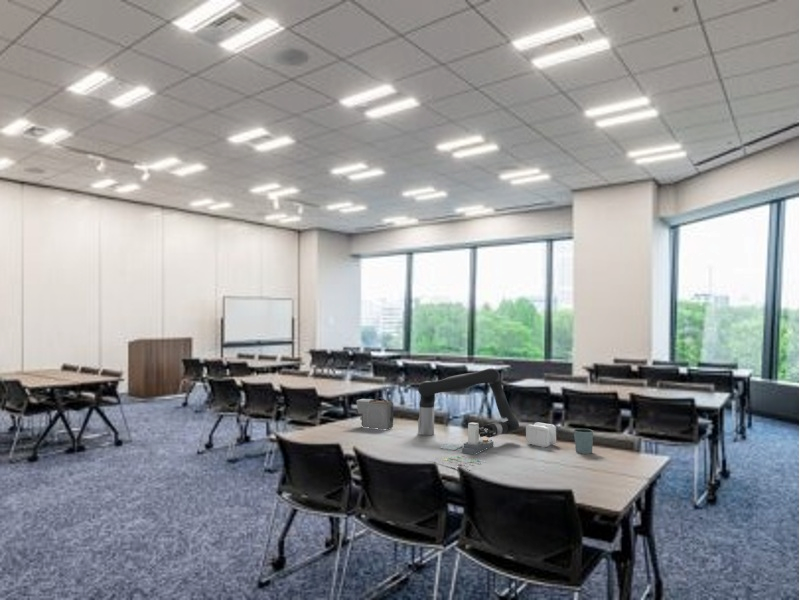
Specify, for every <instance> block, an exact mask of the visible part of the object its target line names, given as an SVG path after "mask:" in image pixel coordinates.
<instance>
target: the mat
mask: <svg viewBox="0 0 800 600" xmlns="http://www.w3.org/2000/svg"><path fill="white" fill-rule="evenodd" d="M441 448H442V449H441ZM462 448H463V447H462V445H455V444H449V443H447V444H445V445H443V446H440V448H439V449H441V450H447V449H448V450H449V451H454V450H455V451H457V450H459V449H462ZM456 449H457V450H456Z"/></svg>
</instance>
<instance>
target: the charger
mask: <svg viewBox="0 0 800 600" xmlns="http://www.w3.org/2000/svg"><path fill="white" fill-rule="evenodd" d="M479 428H480V426H479V422H468V425H467V442H468V444H473V445H477V444H479V440H480V435H479Z"/></svg>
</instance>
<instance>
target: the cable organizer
mask: <svg viewBox="0 0 800 600" xmlns="http://www.w3.org/2000/svg"><path fill="white" fill-rule="evenodd" d="M525 442H526V443H527V444H529V445H530V444H532V445H531V446H539V447H540V448H547V447H550V446H553V445H556V443H557V427H556V425H554V424H550V423H544V422H537V421H536V422H534V424H527V425H526V426H525Z"/></svg>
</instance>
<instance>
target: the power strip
mask: <svg viewBox="0 0 800 600" xmlns="http://www.w3.org/2000/svg"><path fill="white" fill-rule="evenodd" d="M493 445H494V441H493V440H492V439H490V440H489V438H484V439H479V444H477V445H473V444H468V441H466V442H464V443H463V447H461V453H462V452H463V454H468V453H473V454H472V455H475V454H476V453H478V452H480V451H482V450H484V449H486V448H488V449H490V448H492V447H494V446H493ZM491 446H492V447H491ZM489 447H490V448H489ZM486 450H487V449H486ZM484 451H485V450H484ZM482 452H483V451H482ZM480 453H481V452H480ZM478 454H479V453H478ZM476 455H477V454H476Z"/></svg>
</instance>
